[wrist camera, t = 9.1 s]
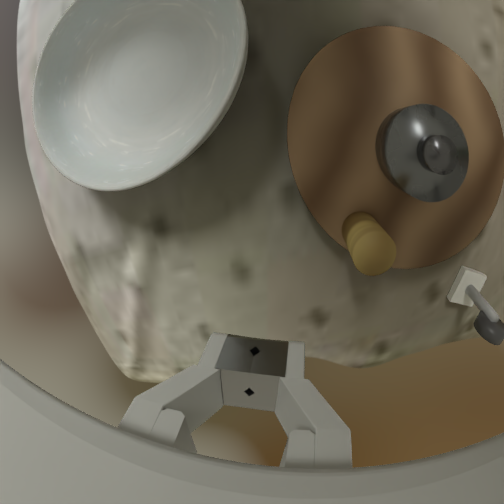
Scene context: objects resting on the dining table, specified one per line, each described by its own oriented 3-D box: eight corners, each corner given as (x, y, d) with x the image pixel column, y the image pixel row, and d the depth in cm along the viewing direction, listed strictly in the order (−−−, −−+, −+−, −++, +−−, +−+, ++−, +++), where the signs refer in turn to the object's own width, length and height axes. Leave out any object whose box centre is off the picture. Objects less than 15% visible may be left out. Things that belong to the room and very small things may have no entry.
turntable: (263, 228, 24) (251, 261, 18) (312, 3, 15) (315, -36, 9) (457, 281, 22) (486, 316, 16) (507, 95, 13) (547, 94, 8)
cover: (365, 178, 19) (383, 188, 15) (384, 94, 16) (407, 84, 12) (437, 204, 19) (465, 221, 14) (456, 127, 16) (487, 129, 11)
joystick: (446, 296, 24) (481, 349, 16) (461, 265, 23) (504, 311, 14) (468, 302, 24) (503, 350, 16) (483, 272, 22) (524, 316, 14)
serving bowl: (52, 100, 22) (10, 102, 16) (168, -36, 14) (139, -64, 8) (150, 219, 26) (111, 245, 20) (312, 69, 18) (318, 42, 12)
